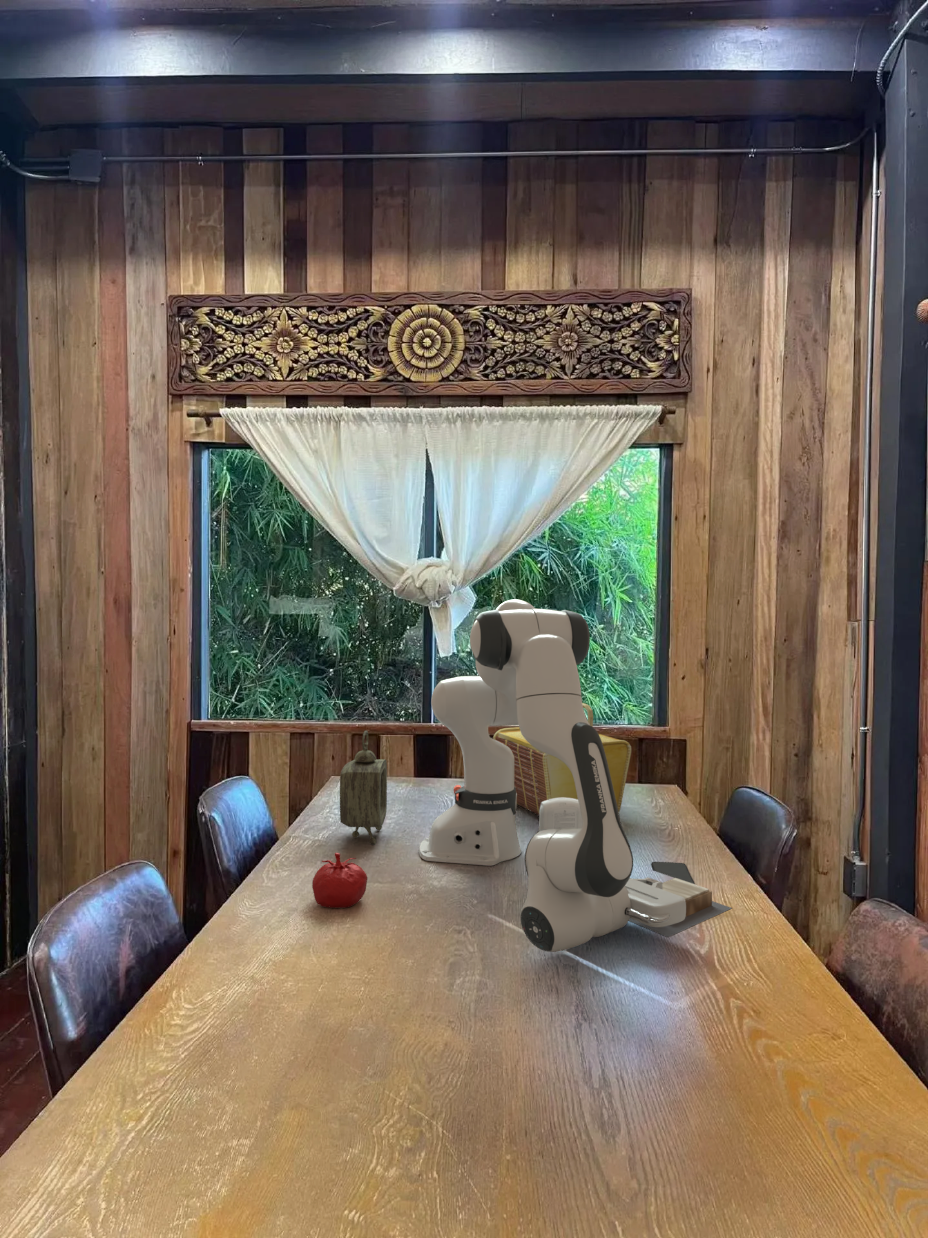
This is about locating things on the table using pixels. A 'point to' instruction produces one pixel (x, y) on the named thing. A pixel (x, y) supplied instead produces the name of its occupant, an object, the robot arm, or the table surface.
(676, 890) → the wooden block
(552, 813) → the photo printer
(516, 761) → the picnic basket
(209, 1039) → the table surface
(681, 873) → the smartphone
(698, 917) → the mat
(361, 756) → the tabletop clock
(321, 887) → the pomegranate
